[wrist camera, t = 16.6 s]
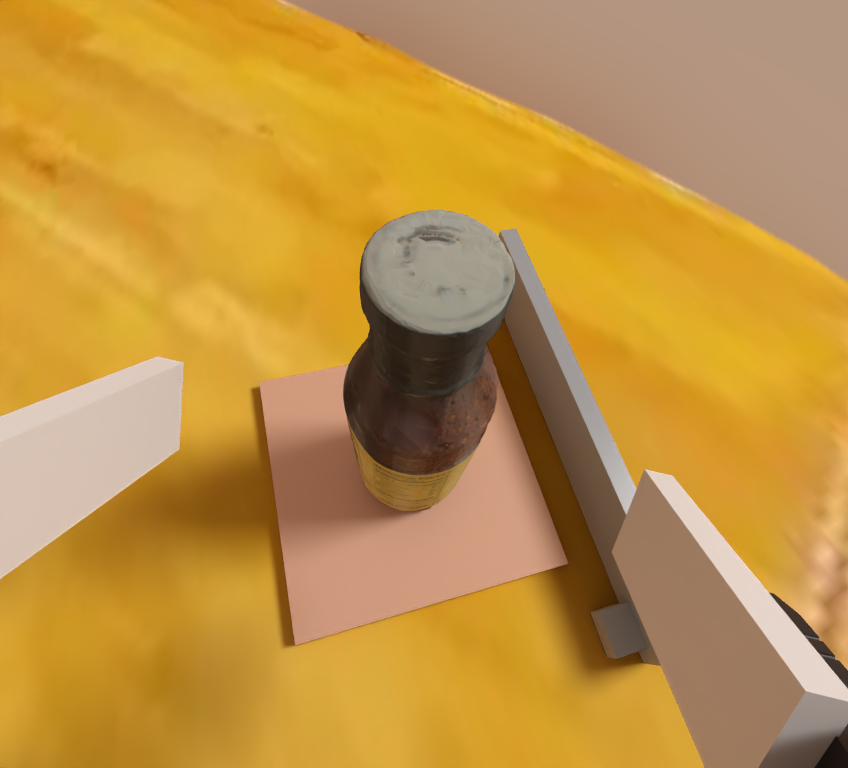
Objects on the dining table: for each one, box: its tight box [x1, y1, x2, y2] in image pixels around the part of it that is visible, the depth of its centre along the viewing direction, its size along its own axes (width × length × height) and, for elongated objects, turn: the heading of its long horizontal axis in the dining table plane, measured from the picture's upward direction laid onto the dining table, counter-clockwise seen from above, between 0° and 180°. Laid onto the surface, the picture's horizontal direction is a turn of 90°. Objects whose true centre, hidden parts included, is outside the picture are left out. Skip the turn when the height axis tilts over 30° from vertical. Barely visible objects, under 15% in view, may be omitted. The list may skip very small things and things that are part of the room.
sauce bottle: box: [343, 210, 515, 511], centre depth 21 cm, size 7×6×20 cm
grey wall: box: [499, 229, 661, 666], centre depth 30 cm, size 5×28×5 cm, turn 15°
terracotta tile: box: [259, 365, 569, 645], centre depth 30 cm, size 16×16×1 cm
